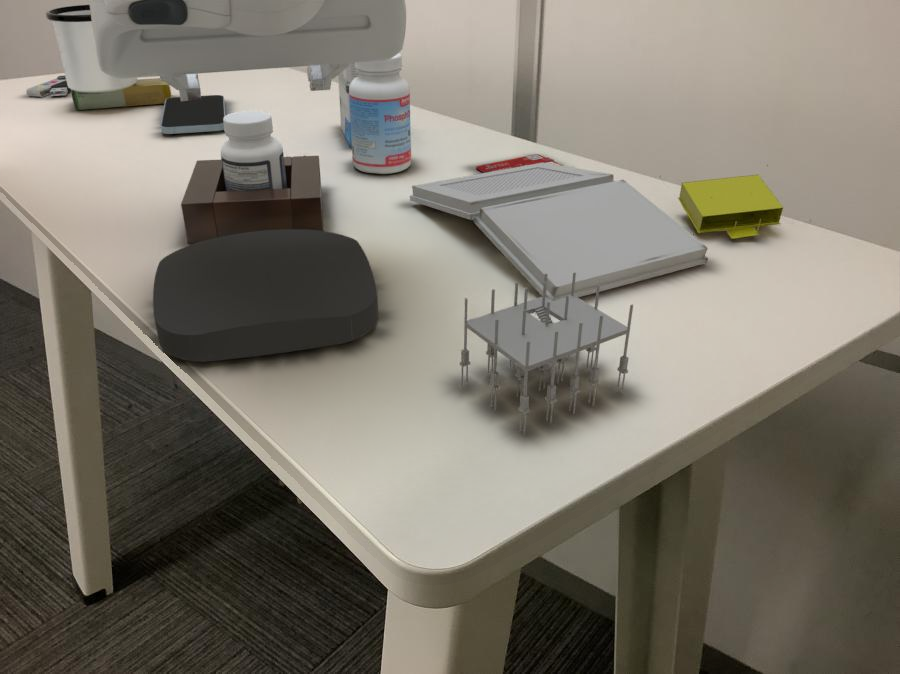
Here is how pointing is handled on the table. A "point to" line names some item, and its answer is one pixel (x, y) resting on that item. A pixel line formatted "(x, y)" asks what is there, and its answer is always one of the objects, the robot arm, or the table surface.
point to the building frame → (545, 340)
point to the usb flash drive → (56, 89)
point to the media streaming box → (263, 295)
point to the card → (515, 163)
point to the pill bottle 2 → (380, 117)
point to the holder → (252, 202)
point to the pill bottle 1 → (252, 153)
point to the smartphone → (193, 115)
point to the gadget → (568, 226)
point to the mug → (81, 51)
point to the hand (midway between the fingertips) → (255, 87)
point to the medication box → (125, 95)
